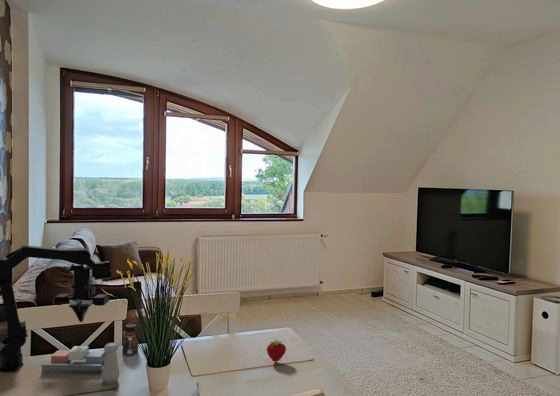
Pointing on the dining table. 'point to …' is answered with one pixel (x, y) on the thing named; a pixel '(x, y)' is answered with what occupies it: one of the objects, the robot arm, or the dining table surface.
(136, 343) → the supplement bottle
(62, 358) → the key red
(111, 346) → the salt shaker
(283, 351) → the strawberry
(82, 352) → the off-white square block
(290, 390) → the dining table surface
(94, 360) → the blue-grey square block
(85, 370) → the panel
